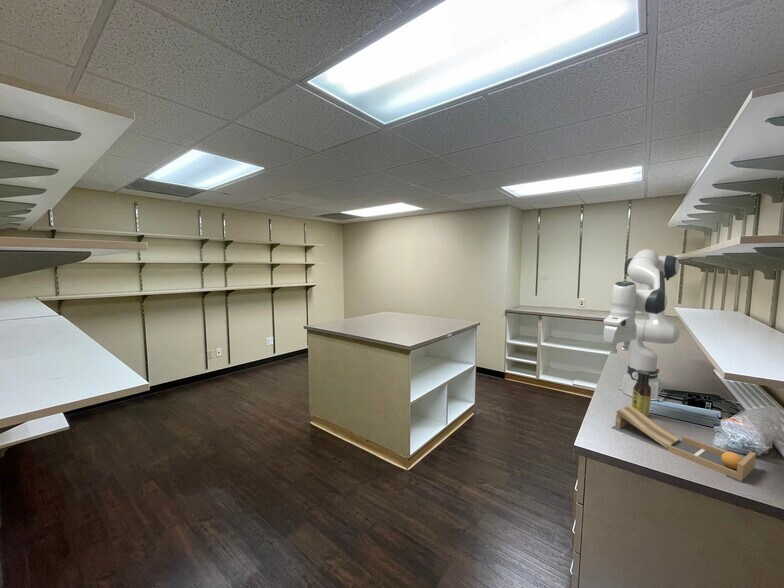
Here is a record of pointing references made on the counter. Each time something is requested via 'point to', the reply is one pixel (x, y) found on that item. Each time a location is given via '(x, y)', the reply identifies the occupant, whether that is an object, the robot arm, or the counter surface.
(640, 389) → the sauce bottle
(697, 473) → the counter surface
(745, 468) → the lane
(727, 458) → the ball
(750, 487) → the counter surface
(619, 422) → the ramp
